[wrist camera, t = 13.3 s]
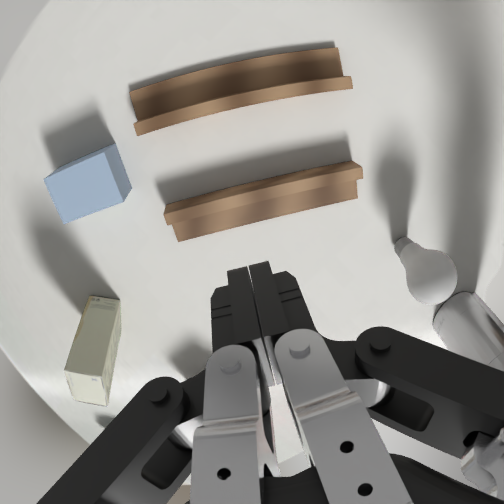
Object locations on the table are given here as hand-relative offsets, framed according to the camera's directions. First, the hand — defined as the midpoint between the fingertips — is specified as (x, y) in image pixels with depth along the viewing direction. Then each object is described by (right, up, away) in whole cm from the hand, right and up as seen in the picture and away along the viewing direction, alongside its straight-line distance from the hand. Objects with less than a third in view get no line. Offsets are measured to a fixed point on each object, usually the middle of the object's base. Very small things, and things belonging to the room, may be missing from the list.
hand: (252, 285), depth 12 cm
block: (-16, +9, +18) cm, 26 cm away
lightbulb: (+19, +2, +27) cm, 33 cm away
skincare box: (-19, -7, +27) cm, 34 cm away
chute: (0, +12, +19) cm, 22 cm away
